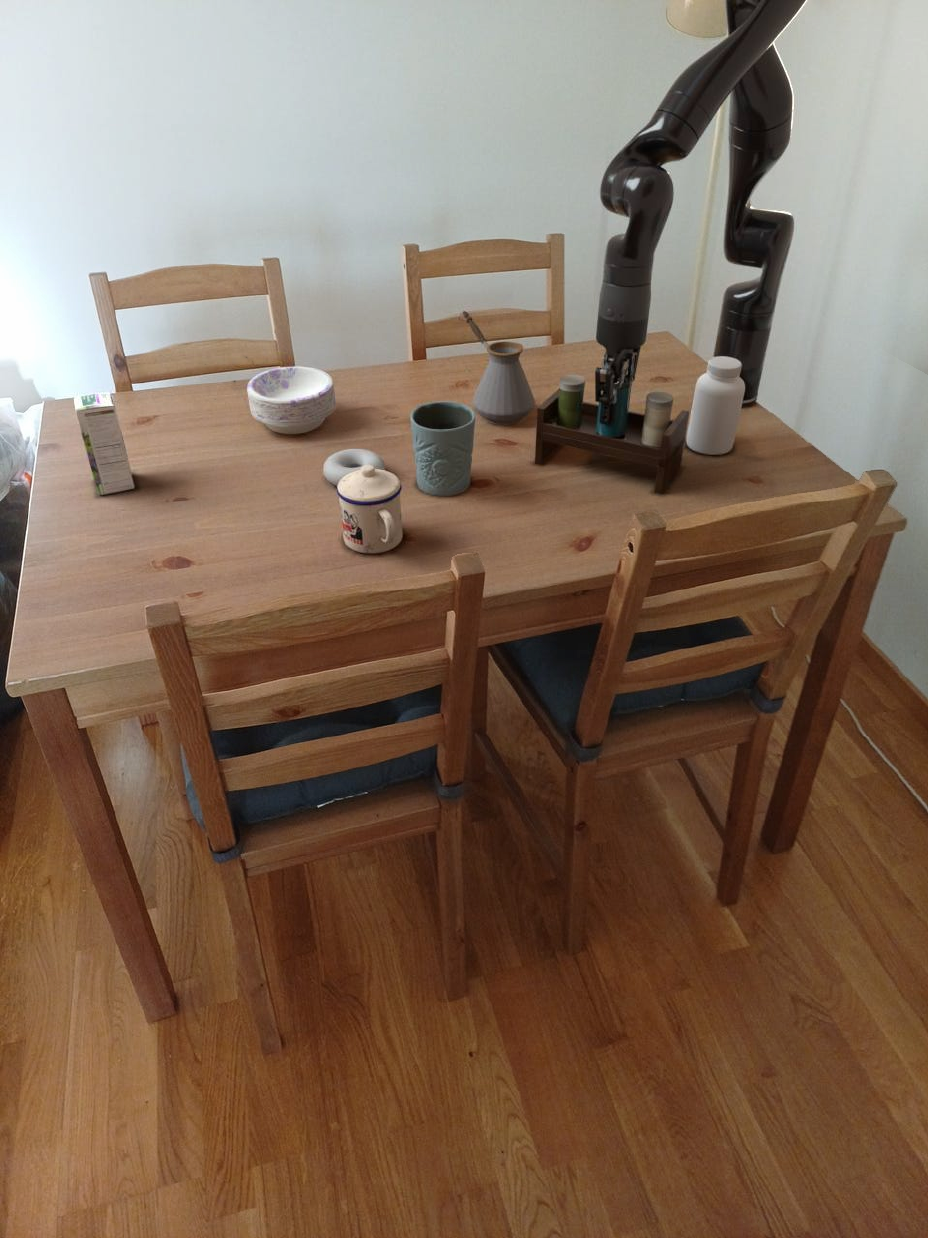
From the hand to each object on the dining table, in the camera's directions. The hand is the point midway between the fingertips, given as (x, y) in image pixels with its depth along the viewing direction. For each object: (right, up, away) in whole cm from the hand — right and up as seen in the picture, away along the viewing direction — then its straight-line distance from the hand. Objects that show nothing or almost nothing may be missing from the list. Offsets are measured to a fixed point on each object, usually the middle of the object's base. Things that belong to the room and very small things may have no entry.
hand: (612, 416), depth 141 cm
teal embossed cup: (-27, -11, +1) cm, 29 cm away
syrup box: (-80, -11, +1) cm, 81 cm away
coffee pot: (-19, +7, +24) cm, 32 cm away
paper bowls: (-55, +3, +19) cm, 58 cm away
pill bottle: (+19, -3, +11) cm, 22 cm away
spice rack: (0, -7, +5) cm, 9 cm away
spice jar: (0, -2, +1) cm, 2 cm away
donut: (-42, -10, +3) cm, 43 cm away
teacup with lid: (-37, -22, -13) cm, 44 cm away
